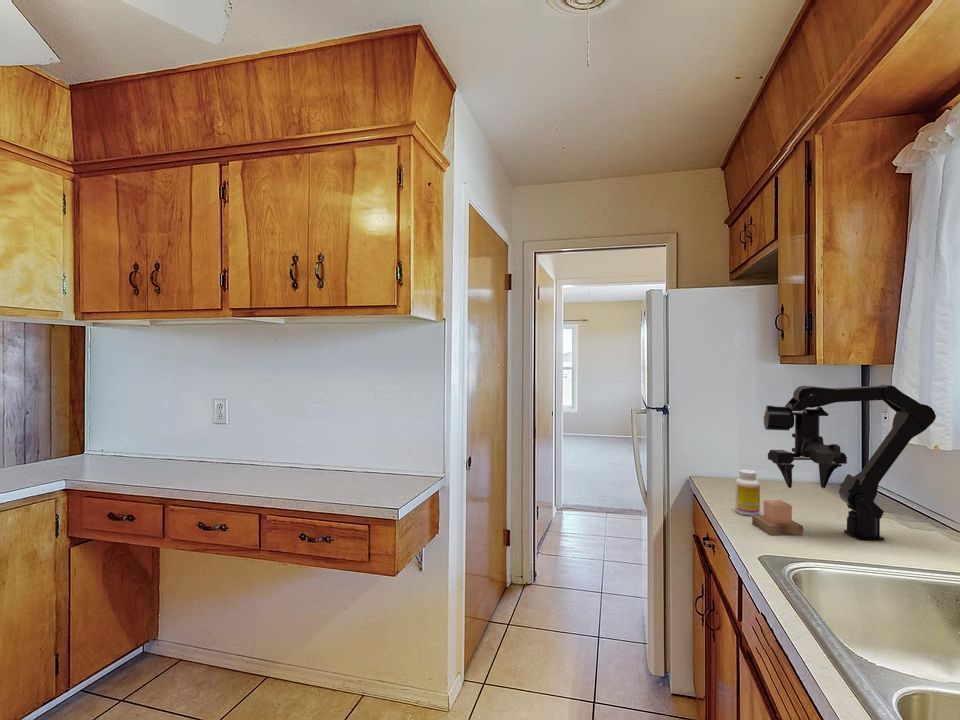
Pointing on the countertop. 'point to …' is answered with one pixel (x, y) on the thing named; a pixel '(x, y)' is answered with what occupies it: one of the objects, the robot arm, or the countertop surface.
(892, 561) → the countertop surface
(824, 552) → the countertop surface
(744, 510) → the supplement bottle
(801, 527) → the brown block
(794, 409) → the robot arm
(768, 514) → the cube
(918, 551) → the countertop surface
